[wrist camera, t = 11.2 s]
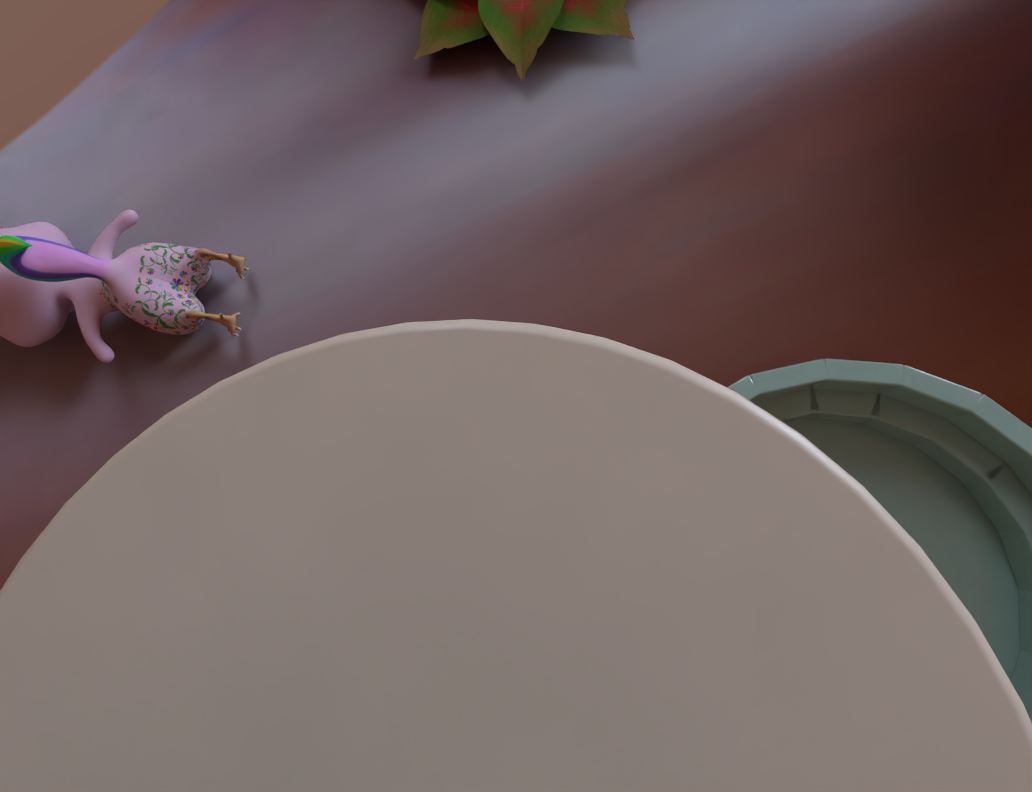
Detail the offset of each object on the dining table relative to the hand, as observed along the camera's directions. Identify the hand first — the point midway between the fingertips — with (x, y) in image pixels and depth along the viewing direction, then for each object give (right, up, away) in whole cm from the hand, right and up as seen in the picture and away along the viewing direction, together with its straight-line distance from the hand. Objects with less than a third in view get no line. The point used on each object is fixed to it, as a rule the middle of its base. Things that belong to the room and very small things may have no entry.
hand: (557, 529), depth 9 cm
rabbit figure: (-19, +6, +17) cm, 26 cm away
